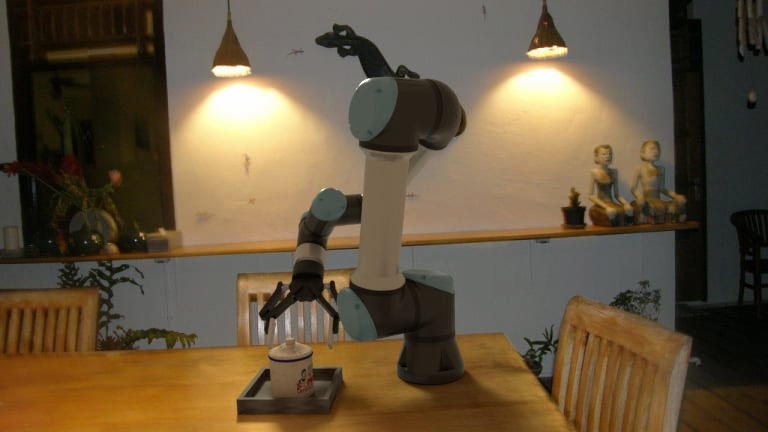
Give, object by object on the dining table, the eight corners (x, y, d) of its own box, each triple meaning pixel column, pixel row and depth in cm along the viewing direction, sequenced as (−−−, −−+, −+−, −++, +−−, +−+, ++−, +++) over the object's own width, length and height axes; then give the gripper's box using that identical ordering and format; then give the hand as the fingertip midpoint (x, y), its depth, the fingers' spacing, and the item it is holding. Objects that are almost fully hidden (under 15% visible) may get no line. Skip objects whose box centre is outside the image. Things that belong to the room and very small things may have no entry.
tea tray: (342, 379, 135) (342, 366, 135) (328, 414, 117) (328, 399, 117) (263, 380, 137) (262, 367, 136) (237, 414, 119) (236, 399, 118)
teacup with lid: (305, 404, 120) (302, 346, 119) (262, 401, 122) (259, 344, 121) (326, 382, 131) (323, 329, 130) (286, 379, 134) (284, 327, 133)
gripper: (361, 274, 150) (357, 353, 137) (262, 276, 152) (248, 354, 139) (358, 256, 144) (353, 337, 131) (255, 258, 146) (239, 339, 133)
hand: (299, 346), depth 135 cm, fingers open, 13 cm apart
